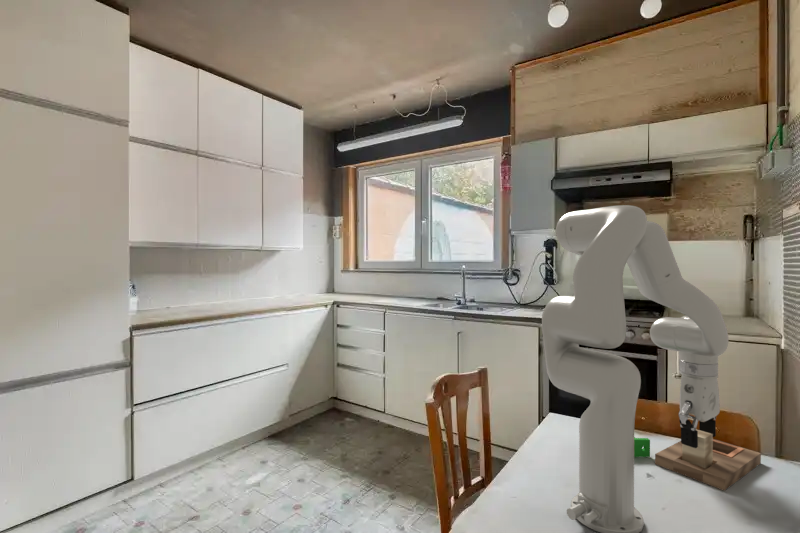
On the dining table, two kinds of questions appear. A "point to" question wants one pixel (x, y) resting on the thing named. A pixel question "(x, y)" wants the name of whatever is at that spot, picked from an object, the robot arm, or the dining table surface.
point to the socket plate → (725, 468)
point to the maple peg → (700, 451)
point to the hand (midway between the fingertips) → (698, 440)
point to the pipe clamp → (638, 447)
